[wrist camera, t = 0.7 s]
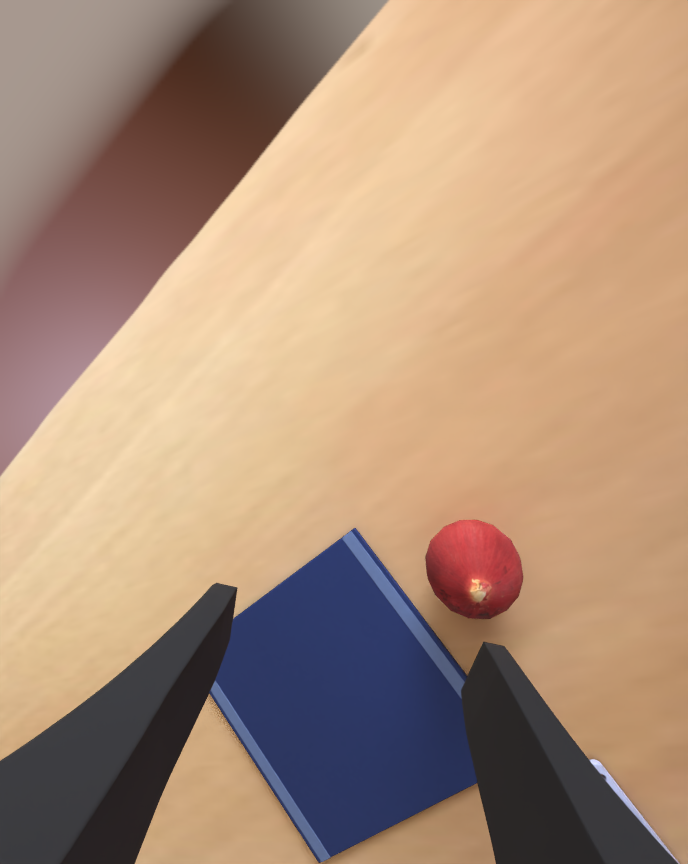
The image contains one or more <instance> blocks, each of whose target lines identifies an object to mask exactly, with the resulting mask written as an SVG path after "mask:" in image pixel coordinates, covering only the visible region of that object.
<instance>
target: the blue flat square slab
mask: <svg viewBox="0 0 688 864" xmlns="http://www.w3.org/2000/svg"><path fill="white" fill-rule="evenodd" d="M466 678H467V675H466V674H465V673H464V671H463V670H462V669H461V667H460V666H459V665H458V663H457V662H456V661H455V659H454V658H453V657H452V655H451V654H450V653H449V651H448V650H447V649H446V647H445V646H444V645H443V643H442V642H441V641H440V639H439V638H438V637H437V635H436V634H435V633H434V631H433V630H432V629H431V628H430V626H429V625H428V624H427V622H426V621H425V620H424V618H423V617H422V616H421V614H420V613H419V612H418V610H417V609H416V608H415V606H414V605H413V604H412V602H411V601H410V600H409V598H408V597H407V596H406V594H405V593H404V592H403V590H402V589H401V588H400V586H399V585H398V584H397V582H396V581H395V580H394V578H393V577H392V576H391V574H390V573H389V572H388V570H387V569H386V568H385V566H384V565H383V564H382V563H381V561H380V560H379V559H378V557H377V556H376V555H375V553H374V552H373V551H372V549H371V548H370V547H369V545H368V544H367V543H366V541H365V540H364V539H363V537H362V536H361V535H360V533H359V532H358V531H357V529H356V528H354V529H353V530H351V531H350V532H349V533H347V534H346V535H345V536H343V537H342V538H341V539H339V540H338V541H337V542H335V543H334V544H333V545H331V546H330V547H329V548H327V549H326V550H325V551H323V552H322V553H321V554H319V555H318V556H317V557H315V558H314V559H313V560H311V561H310V562H309V563H307V564H306V565H305V566H303V567H302V568H301V569H299V570H298V571H296V572H295V573H294V574H292V575H291V576H290V577H288V578H287V579H286V580H284V581H283V582H282V583H280V584H279V585H278V586H276V587H275V588H274V589H272V590H271V591H270V592H268V593H267V594H266V595H264V596H263V597H262V598H260V599H259V600H258V601H256V602H255V603H254V604H252V605H251V606H250V607H248V608H247V609H246V610H244V611H243V612H242V613H240V614H239V615H238V616H236V617H235V618H234V619H233V622H232V629H231V636H230V641H229V644H228V647H227V649H226V652H225V655H224V658H223V661H222V663H221V666H220V669H219V671H218V674H217V677H216V679H215V682H214V684H213V686H212V688H211V690H210V692H209V693H210V695H211V696H212V698H213V700H214V701H215V703H216V704H217V706H218V707H219V709H220V710H221V712H222V714H223V715H224V717H225V718H226V720H227V721H228V723H229V724H230V726H231V727H232V729H233V731H234V732H235V734H236V735H237V737H238V738H239V740H240V741H241V743H242V744H243V746H244V748H245V749H246V751H247V752H248V754H249V755H250V757H251V758H252V760H253V762H254V763H255V765H256V766H257V768H258V769H259V771H260V772H261V774H262V775H263V777H264V779H265V780H266V782H267V783H268V785H269V786H270V788H271V789H272V791H273V793H274V794H275V796H276V797H277V799H278V800H279V802H280V803H281V805H282V806H283V808H284V810H285V811H286V813H287V814H288V816H289V817H290V819H291V820H292V822H293V823H294V825H295V827H296V828H297V830H298V831H299V833H300V834H301V836H302V837H303V839H304V841H305V842H306V844H307V845H308V847H309V848H310V850H311V851H312V853H313V854H314V856H315V858H316V859H317V861H318V862H319V863H320V862H323V861H325V860H327V859H329V858H330V857H332V856H334V855H336V854H338V853H340V852H342V851H344V850H346V849H348V848H350V847H352V846H354V845H356V844H358V843H360V842H362V841H364V840H366V839H368V838H370V837H372V836H374V835H376V834H377V833H379V832H381V831H383V830H385V829H387V828H389V827H391V826H393V825H395V824H397V823H399V822H401V821H403V820H405V819H407V818H409V817H411V816H413V815H415V814H417V813H419V812H421V811H423V810H425V809H427V808H429V807H431V806H433V805H435V804H437V803H439V802H440V801H442V800H444V799H446V798H448V797H450V796H452V795H454V794H456V793H458V792H460V791H462V790H464V789H466V788H468V787H470V786H472V785H474V784H476V783H477V778H476V774H475V770H474V766H473V761H472V757H471V753H470V748H469V744H468V739H467V735H466V728H465V721H464V714H463V705H462V697H461V689H462V687H463V685H464V683H465V680H466Z"/></svg>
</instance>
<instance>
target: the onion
mask: <svg viewBox="0 0 688 864" xmlns="http://www.w3.org/2000/svg"><path fill="white" fill-rule="evenodd" d="M425 558H426V569H427V576H428V580H429V582H430V584H431V587H432V589H433V591H434V593H435V595H436V596H437V597H438V598H439V599H440V600H441V601H442V602H443V603H444V604H445V605H446V606H447V607H448V608H449V609H450V610H451V611H453V612H455V613H458V614H460V615H462V616H465V617H467V618H474V619H491V618H493V617H495V616H496V615H498V614H500V613H502V612H504V611H506V610H507V609H508V608H509V607H510V606H511V605H512V604H513V602H514V601H515V600H516V599H517V598H518V596H519V593H520V589H521V586H522V582H523V572H522V566H521V560H520V557H519V554H518V552H517V551H516V549H515V547H514V545H513V543H512V541H511V539H509V538H508V537H507V536H506V535H504V534H503V533H502V532H501V531H499V530H498V529H497V528H496V527H495V526H493V525H491V524H488V523H485V522H482V521H479V520H459V521H457V522H454V523H452V524H449V525H447V526H445V527H444V528H443V529H442V530H441V531H440V532H439V533H438V534H437V535H436V536H435V537H434V538H433V539H432V540H431V541H430V544H429V547H428V551H427V554H426V557H425Z"/></svg>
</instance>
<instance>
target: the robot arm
mask: <svg viewBox="0 0 688 864" xmlns="http://www.w3.org/2000/svg"><path fill="white" fill-rule="evenodd" d="M236 594H237V587H233V586H228V585H223V584H219V583H216V584H214V585H212V586H211V587H210V588H209V589H208V591H207V592H206V593H205V594H204V595H203V596H202V597H201V598H200V599H199V600H198V601H197V603H196V604H195V605H194V606H193V607H192V608H191V609H190V610H189V611H188V612H187V613H186V614H185V615H184V616H183V617H182V618H181V619H180V620H179V621H178V622H177V623H176V624H175V625H173V626H172V627H171V628H170V629H169V630H168V631H167V632H166V633H165V634H164V635H163V636H162V637H161V638H160V639H159V640H158V641H157V642H155V643H154V644H153V645H152V646H151V647H150V648H149V649H148V650H147V651H145V652H144V653H143V654H142V655H141V656H140V657H138V658H137V659H136V660H135V661H134V662H133V663H131V664H130V665H129V666H128V667H127V668H126V669H125V670H123V671H122V672H121V673H120V674H119V675H117V676H116V677H115V678H114V679H113V680H111V681H110V682H109V683H108V684H106V685H105V686H104V687H103V688H101V689H100V690H99V691H98V692H96V693H95V694H94V695H92V696H91V697H90V698H88V699H87V700H86V701H85V702H83V703H82V704H81V705H79V706H78V707H77V708H75V709H74V710H73V711H71V712H70V713H69V714H67V715H66V716H64V717H63V718H62V719H60V720H59V721H57V722H56V723H55V724H53V725H52V726H50V727H49V728H48V729H46V730H45V731H43V732H42V733H41V734H39V735H38V736H36V737H35V738H34V739H32V740H31V741H29V742H28V743H26V744H25V745H23V746H22V747H20V748H19V749H18V750H16V751H15V752H13V753H12V754H10V755H9V756H7V757H5V758H4V759H2V760H1V761H0V864H135V861H136V859H137V856H138V853H139V851H140V848H141V846H142V843H143V841H144V838H145V835H146V833H147V830H148V828H149V825H150V823H151V820H152V818H153V815H154V813H155V810H156V807H157V805H158V802H159V800H160V798H161V795H162V793H163V791H164V788H165V786H166V784H167V782H168V779H169V777H170V775H171V773H172V771H173V768H174V766H175V764H176V762H177V760H178V758H179V756H180V754H181V752H182V749H183V747H184V745H185V743H186V741H187V739H188V737H189V735H190V733H191V730H192V728H193V726H194V724H195V722H196V720H197V718H198V716H199V714H200V711H201V709H202V707H203V705H204V703H205V701H206V699H207V697H208V694H209V692H210V690H211V688H212V686H213V684H214V682H215V679H216V677H217V674H218V671H219V669H220V666H221V663H222V661H223V658H224V655H225V652H226V649H227V647H228V644H229V641H230V636H231V629H232V622H233V615H234V608H235V601H236ZM461 697H462V705H463V714H464V721H465V728H466V735H467V739H468V744H469V748H470V753H471V757H472V761H473V766H474V770H475V774H476V778H477V783H478V787H479V791H480V795H481V799H482V804H483V808H484V812H485V816H486V821H487V825H488V829H489V833H490V837H491V842H492V846H493V851H494V856H495V860H496V864H679V862H678V861H677V860H676V859H675V857H674V856H673V855H672V853H671V852H670V851H669V850H668V848H667V847H666V846H665V844H664V843H663V842H662V841H661V839H660V838H659V837H658V836H657V834H656V833H655V832H654V830H653V829H652V828H651V827H650V825H649V824H648V823H647V821H646V820H645V819H644V818H643V816H642V815H641V814H640V812H639V811H638V810H637V809H636V807H635V806H634V805H633V803H632V802H631V801H630V800H629V798H628V797H627V796H626V795H625V793H624V792H623V791H622V789H621V788H620V787H619V786H618V784H617V783H616V782H615V780H614V779H613V778H612V777H611V775H610V774H609V773H608V771H607V770H606V769H605V768H604V766H603V765H602V764H601V763H600V762H599V761H597V760H594V759H592V760H589V759H588V758H587V757H586V756H585V754H584V753H583V752H582V750H581V749H580V748H579V747H578V745H577V744H576V743H575V741H574V740H573V739H572V737H571V736H570V735H569V734H568V732H567V731H566V730H565V728H564V727H563V726H562V724H561V723H560V722H559V720H558V719H557V718H556V716H555V715H554V714H553V712H552V711H551V709H550V708H549V707H548V705H547V704H546V703H545V701H544V700H543V699H542V697H541V696H540V694H539V693H538V692H537V690H536V689H535V688H534V686H533V685H532V683H531V682H530V681H529V679H528V678H527V676H526V675H525V674H524V672H523V671H522V670H521V668H520V667H519V665H518V664H517V663H516V661H515V660H514V658H513V657H512V656H511V654H510V653H509V652H508V650H507V649H506V648H505V646H501V645H496V644H492V643H487V642H483V644H482V646H481V648H480V650H479V652H478V655H477V657H476V659H475V661H474V663H473V665H472V668H471V670H470V672H469V674H468V676H467V678H466V680H465V683H464V685H463V687H462V689H461ZM601 774H603V776H602V775H601Z"/></svg>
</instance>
